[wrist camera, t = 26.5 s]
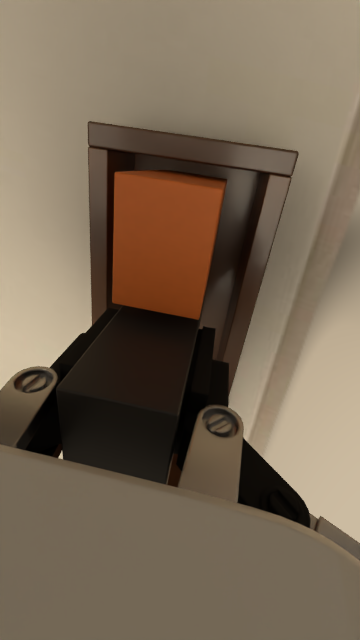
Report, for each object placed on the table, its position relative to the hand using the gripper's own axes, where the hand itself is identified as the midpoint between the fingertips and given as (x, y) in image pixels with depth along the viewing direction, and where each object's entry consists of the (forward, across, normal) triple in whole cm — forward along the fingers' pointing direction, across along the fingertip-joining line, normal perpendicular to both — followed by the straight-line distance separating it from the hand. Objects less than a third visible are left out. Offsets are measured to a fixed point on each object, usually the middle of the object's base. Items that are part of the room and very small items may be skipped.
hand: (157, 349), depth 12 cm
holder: (+6, 0, +3) cm, 7 cm away
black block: (+2, 0, 0) cm, 2 cm away
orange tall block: (+6, 0, -4) cm, 7 cm away
